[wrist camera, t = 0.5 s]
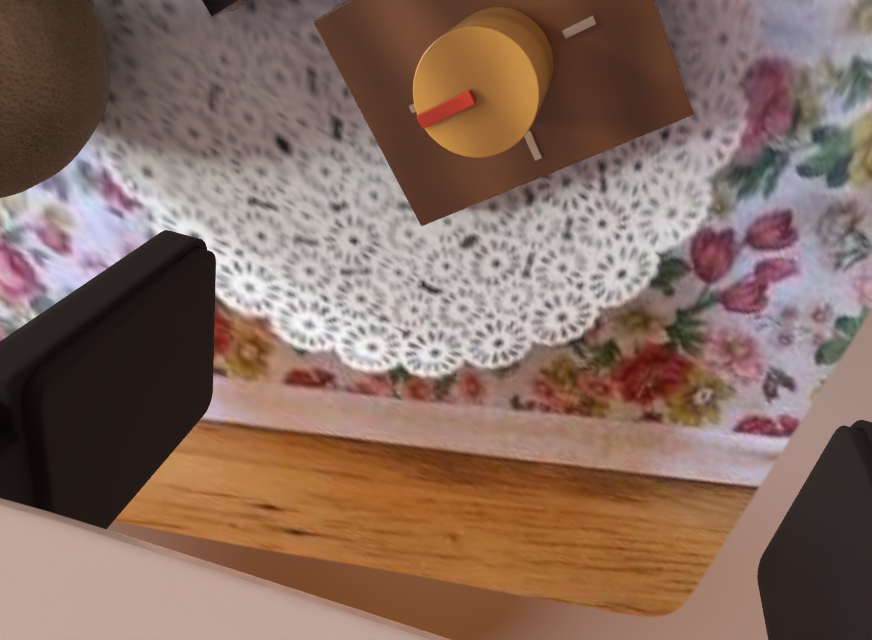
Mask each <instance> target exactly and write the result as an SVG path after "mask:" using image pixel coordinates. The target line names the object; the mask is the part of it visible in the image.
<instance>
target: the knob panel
mask: <svg viewBox="0 0 872 640" xmlns="http://www.w3.org/2000/svg"><path fill="white" fill-rule="evenodd" d="M495 7H502V8H509V9H513V10H516V11H519V12H521V13H523V14H525V15H526V16H528V17H529V18H531V19H532V20H533V21H534V22H536V23H537V25H538V26H539V27H540V28H541V29H542V31H543V32H544V34H545V35H546V37H547V39H548V41H549V44H550V46H551V49H552V54H553V63H554V67H553V76H552V81H551V84H550V87H549V89H548V92H547V94H546V96H545V98H544V100H543V102H542V104H541V107H540V109H539V111H538V113H537V115H536V117H535V119H534V122H533V124H532V126H531V127H530V129H529V130H528V132H527V133H526V135H525V136H524V137H523V138H522V139H521V140H520V141H519V142H518V143H517V144H516V145H514V146H513V147H511V148H510V149H508V150H506V151H504V152H503V153H500V154H497V155H494V156H490V157H482V158H474V157H466V156H462V155H459V154H455V153H453V152H451V151H449V150H447V149H445V148H444V147H442V146H441V145H440V144H438V143H437V142H436V141H435V140H434V139H433V138H432V137H431V136H430V135H429V134H428V132H427V131H426V130H425V129H422V127H421V125H420V123H419V121H418V119H417V117H416V116H417V112H416V109H415V105H414V99H413V82H414V76H415V72H416V69H417V66H418V63H419V61H420V59H421V58H422V56H423V54H424V53H425V51H426V50H427V49H428V48H429V47H430V45H431V44H432V43H433V42H435V41H436V40H437V39H438V38H439V37H441V36H442V35H444V34H445V33H446V32H448V31H449V30H450V29H452V28H453V27H455V26H456V25H457V24H459V23H460V22H462V21H463V20H464V19H466V18H467V17H469V16H470V15H472V14H474V13H476V12H478V11H480V10H484V9H487V8H495ZM314 24H315V26H316V27H317V29H318V31H319V33H320V35H321V37H322V39H323V41H324V43H325V44H326V46H327V48H328V50H329V52H330V54H331V56H332V58H333V60H334V62H335V63H336V65H337V67H338V69H339V71H340V73H341V75H342V77H343V79H344V80H345V82H346V84H347V86H348V88H349V90H350V92H351V94H352V96H353V97H354V99H355V101H356V103H357V105H358V107H359V109H360V111H361V113H362V115H363V116H364V118H365V120H366V122H367V124H368V126H369V128H370V130H371V132H372V133H373V135H374V137H375V139H376V141H377V143H378V145H379V147H380V149H381V150H382V152H383V154H384V156H385V158H386V160H387V162H388V164H389V166H390V168H391V169H392V171H393V173H394V175H395V177H396V179H397V181H398V183H399V185H400V186H401V188H402V190H403V192H404V194H405V196H406V198H407V200H408V202H409V203H410V205H411V207H412V209H413V211H414V213H415V215H416V217H417V219H418V221H419V222H420V224H421V226H423V225H426V224H428V223H431V222H433V221H436V220H438V219H440V218H443V217H445V216H448V215H450V214H453V213H455V212H458V211H460V210H462V209H465V208H467V207H470V206H472V205H475V204H477V203H479V202H482V201H484V200H487V199H489V198H492V197H494V196H497V195H499V194H501V193H504V192H506V191H509V190H511V189H514V188H516V187H518V186H521V185H523V184H526V183H528V182H531V181H533V180H536V179H538V178H540V177H543V176H545V175H548V174H550V173H553V172H555V171H557V170H560V169H562V168H565V167H567V166H570V165H572V164H575V163H577V162H579V161H582V160H584V159H587V158H589V157H592V156H594V155H596V154H599V153H601V152H604V151H606V150H609V149H611V148H614V147H616V146H618V145H621V144H623V143H626V142H628V141H631V140H633V139H635V138H638V137H640V136H643V135H645V134H648V133H650V132H653V131H655V130H657V129H660V128H662V127H665V126H667V125H670V124H672V123H674V122H677V121H679V120H682V119H684V118H687V117H689V116H692V115H693V109H692V105H691V101H690V97H689V94H688V91H687V89H686V86H685V83H684V80H683V77H682V75H681V72H680V69H679V66H678V63H677V61H676V58H675V55H674V52H673V49H672V47H671V44H670V41H669V38H668V35H667V33H666V30H665V27H664V24H663V21H662V19H661V16H660V13H659V10H658V7H657V5H656V2H655V0H349V1H347V2H345V3H343V4H342V5H340V6H338V7H337V8H335V9H333V10H331V11H330V12H328V13H326V14H325V15H323V16H321V17H319V18H318V19H316V20H314Z"/></svg>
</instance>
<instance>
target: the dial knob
mask: <svg viewBox="0 0 872 640" xmlns="http://www.w3.org/2000/svg"><path fill="white" fill-rule="evenodd" d="M553 67H554V63H553V54H552V49H551V46H550V44H549V41H548V39H547V37H546V35H545V34H544V32H543V31H542V29H541V28H540V27H539V26H538V25H537V23H536V22H534V21H533V20H532V19H531V18H529V17H528V16H526V15H525V14H523V13H521V12H519V11H516V10H513V9H509V8H502V7H495V8H487V9H484V10H480V11H478V12H476V13H474V14H472V15H470V16H469V17H467V18H466V19H464V20H463V21H462V22H460V23H459V24H457V25H456V26H455V27H453V28H452V29H450V30H449V31H448V32H446V33H445V34H444V35H442V36H441V37H439V38H438V39H437V40H436V41H435V42H433V43H432V44H431V45H430V47H429V48H428V49H427V50H426V51H425V53H424V54H423V56H422V58H421V59H420V61H419V63H418V66H417V69H416V72H415V76H414V82H413V99H414V105H415V109H416V112H417V116H416V117H417V119H418V121H419V123H420V125H421V127H422V129H425V130H426V131H427V132H428V134H429V135H430V136H431V137H432V138H433V139H434V140H435V141H436V142H437V143H438V144H440V145H441V146H442V147H444V148H445V149H447V150H449V151H451V152H453V153H455V154H459V155H462V156H466V157H474V158H482V157H490V156H494V155H497V154H500V153H503V152H504V151H506V150H508V149H510V148H511V147H513V146H514V145H516V144H517V143H518V142H519V141H520V140H521V139H522V138H523V137H524V136H525V135H526V133H527V132H528V130H529V129H530V127H531V126H532V124H533V122H534V119H535V117H536V115H537V113H538V111H539V109H540V107H541V104H542V102H543V100H544V98H545V96H546V94H547V92H548V89H549V87H550V84H551V81H552V76H553Z"/></svg>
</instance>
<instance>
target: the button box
mask: <svg viewBox="0 0 872 640" xmlns="http://www.w3.org/2000/svg"><path fill="white" fill-rule="evenodd" d="M202 1H203V2H204V4H205V6H206V7H207V9H208V11H209V13H210V14H211V16H216V15H220V14H223V13H227V12H230V11H233V10H235V9H236V8H238V7H239V6H241V5H243V4H244V3H246V2H247V1H249V0H202Z"/></svg>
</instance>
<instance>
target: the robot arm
mask: <svg viewBox="0 0 872 640" xmlns="http://www.w3.org/2000/svg"><path fill="white" fill-rule="evenodd" d="M215 275H216V259H215V255H214V254H213V252H210V251H207V247H206V244H205V242H204V241H203V240H202V239H198V238H194V237H191V236H187V235H183V234H180V233H176V232H173V231H168V230H165V231H163V232H161V233H159V234H158V235H156V236H155V237H153V238H152V239H150V240H149V241H147V242H146V243H144V244H143V245H142V246H140V247H139V248H137V249H136V250H134V251H133V252H131V253H130V254H128V255H127V256H125V257H124V258H122V259H121V260H119V261H118V262H116V263H115V264H114V265H112V266H111V267H109V268H108V269H106V270H105V271H103V272H102V273H100V274H99V275H97V276H96V277H94V278H93V279H91V280H90V281H89V282H87V283H86V284H84V285H83V286H81V287H80V288H78V289H77V290H75V291H74V292H72V293H71V294H69V295H68V296H66V297H65V298H63V299H62V300H61V301H59V302H58V303H56V304H55V305H53V306H52V307H50V308H49V309H47V310H46V311H44V312H43V313H41V314H40V315H38V316H37V317H35V318H34V319H33V320H31V321H30V322H28V323H27V324H25V325H24V326H22V327H21V328H19V329H18V330H16V331H15V332H13V333H12V334H10V335H9V336H8V337H6V338H5V339H3V340H2V341H0V640H450V639H447V638H444V637H441V636H438V635H435V634H432V633H429V632H426V631H423V630H420V629H417V628H413V627H410V626H407V625H404V624H401V623H398V622H395V621H392V620H389V619H386V618H383V617H380V616H376V615H373V614H370V613H367V612H364V611H361V610H358V609H355V608H351V607H348V606H346V605H342V604H339V603H336V602H333V601H330V600H327V599H324V598H321V597H317V596H315V595H312V594H308V593H305V592H302V591H299V590H296V589H293V588H289V587H286V586H283V585H280V584H277V583H274V582H271V581H267V580H264V579H261V578H258V577H255V576H252V575H249V574H246V573H242V572H239V571H236V570H233V569H230V568H227V567H224V566H221V565H217V564H214V563H211V562H208V561H205V560H202V559H199V558H195V557H192V556H189V555H186V554H183V553H180V552H177V551H173V550H170V549H167V548H164V547H161V546H157V545H155V544H151V543H148V542H145V541H142V540H139V539H135V538H133V537H129V536H126V535H123V534H120V533H116V532H113V531H110V530H107V528H108V527H109V526H110V524H111V523H112V522H113V521H114V520H115V519H116V517H117V516H118V515H119V514H120V513H121V511H122V510H123V509H124V508H125V507H126V506H127V504H128V503H129V502H130V501H131V500H132V499H133V497H134V496H135V495H136V494H137V493H138V492H139V490H140V489H141V488H142V487H143V486H144V485H145V483H146V482H147V481H148V480H149V479H150V478H151V476H152V475H153V474H154V473H155V472H156V470H157V469H158V468H159V467H160V466H161V465H162V463H163V462H164V461H165V460H166V459H167V458H168V456H169V455H170V454H171V453H172V452H173V451H174V449H175V448H176V447H177V446H178V445H179V444H180V442H181V441H182V440H183V439H184V438H185V437H186V435H187V434H188V433H189V432H190V431H191V429H192V428H193V427H194V426H195V425H196V424H197V422H198V421H199V420H200V419H201V418H202V417H203V415H204V414H205V413H206V411H207V409H208V407H209V405H210V402H211V398H212V393H213V358H214V317H215ZM757 578H758V586H759V591H760V597H761V602H762V607H763V613H764V618H765V624H766V629H767V635H768V640H872V422H868V421H864V420H859V421H856V422H855V423H854V424H853V425H852V426H851V427H847V426H841V427H839V428H838V429H837V430H836V431H835V433H834V434H833V436H832V438H831V439H830V441H829V443H828V444H827V446H826V448H825V449H824V451H823V453H822V454H821V456H820V458H819V460H818V461H817V463H816V465H815V466H814V468H813V470H812V472H811V473H810V475H809V477H808V478H807V480H806V482H805V483H804V485H803V487H802V489H801V490H800V492H799V494H798V495H797V497H796V499H795V500H794V502H793V504H792V506H791V507H790V509H789V511H788V512H787V514H786V516H785V518H784V519H783V521H782V523H781V524H780V526H779V528H778V530H777V531H776V533H775V535H774V536H773V538H772V540H771V541H770V543H769V545H768V547H767V548H766V550H765V552H764V553H763V555H762V557H761V560H760V563H759V567H758V577H757Z"/></svg>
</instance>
